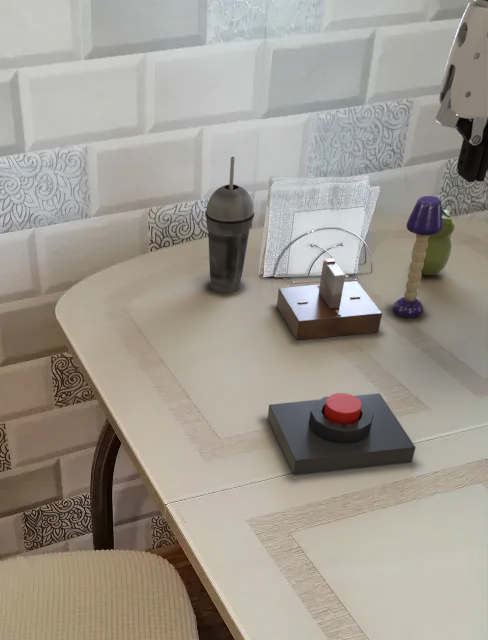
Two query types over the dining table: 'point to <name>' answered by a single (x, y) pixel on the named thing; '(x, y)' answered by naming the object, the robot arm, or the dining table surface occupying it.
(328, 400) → the power button
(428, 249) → the pear
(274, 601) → the dining table surface
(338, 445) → the device
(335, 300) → the grey upright block
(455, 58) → the robot arm
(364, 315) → the brown wooden base
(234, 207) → the beverage cup
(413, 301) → the toy lamp
